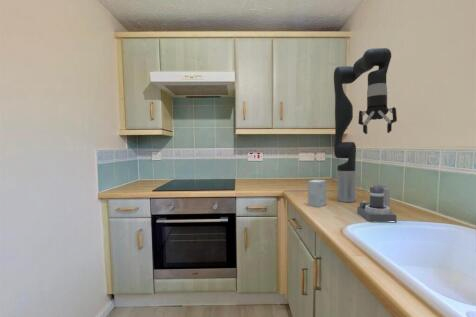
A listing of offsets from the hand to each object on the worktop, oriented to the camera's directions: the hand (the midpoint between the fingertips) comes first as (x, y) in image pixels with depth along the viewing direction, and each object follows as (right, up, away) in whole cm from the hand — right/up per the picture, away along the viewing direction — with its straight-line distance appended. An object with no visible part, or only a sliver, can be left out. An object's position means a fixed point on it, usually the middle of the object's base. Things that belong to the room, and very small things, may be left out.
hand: (377, 133), depth 104 cm
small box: (-18, -36, +23) cm, 47 cm away
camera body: (-2, -36, -1) cm, 36 cm away
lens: (-2, -33, -4) cm, 33 cm away
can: (+8, -36, +11) cm, 38 cm away
